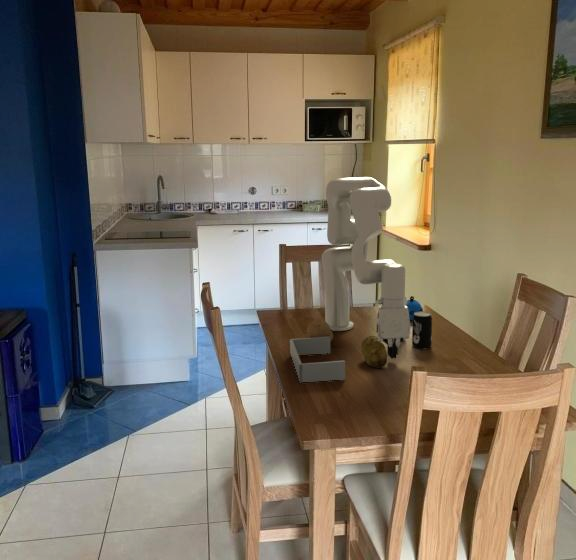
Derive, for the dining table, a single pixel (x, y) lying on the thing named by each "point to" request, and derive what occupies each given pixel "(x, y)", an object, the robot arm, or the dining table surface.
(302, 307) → the dining table surface
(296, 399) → the dining table surface
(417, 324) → the beverage can
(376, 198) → the robot arm
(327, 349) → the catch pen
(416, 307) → the ornament
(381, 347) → the potato
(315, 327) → the natural sponge
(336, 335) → the dining table surface
